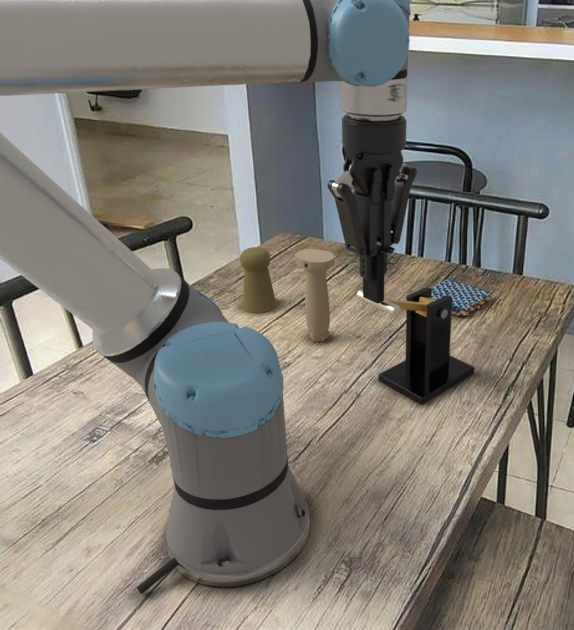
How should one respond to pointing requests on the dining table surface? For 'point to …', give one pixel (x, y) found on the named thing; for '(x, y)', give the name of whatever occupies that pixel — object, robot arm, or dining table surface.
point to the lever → (399, 305)
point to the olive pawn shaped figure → (257, 281)
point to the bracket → (427, 353)
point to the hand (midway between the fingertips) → (373, 298)
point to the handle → (316, 290)
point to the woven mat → (461, 296)
